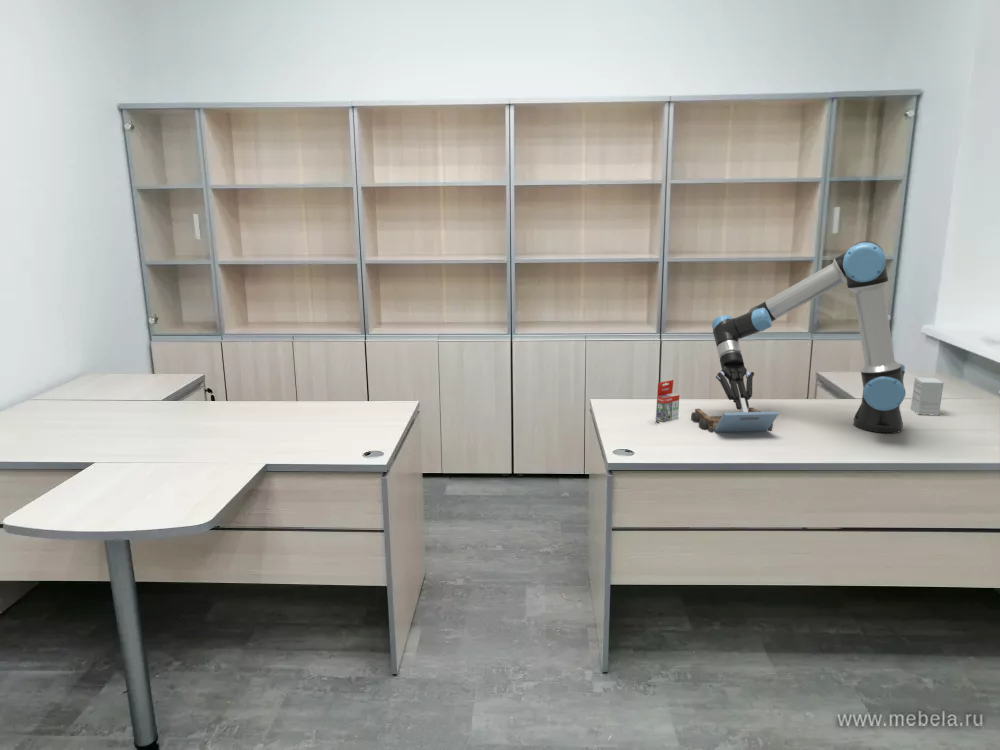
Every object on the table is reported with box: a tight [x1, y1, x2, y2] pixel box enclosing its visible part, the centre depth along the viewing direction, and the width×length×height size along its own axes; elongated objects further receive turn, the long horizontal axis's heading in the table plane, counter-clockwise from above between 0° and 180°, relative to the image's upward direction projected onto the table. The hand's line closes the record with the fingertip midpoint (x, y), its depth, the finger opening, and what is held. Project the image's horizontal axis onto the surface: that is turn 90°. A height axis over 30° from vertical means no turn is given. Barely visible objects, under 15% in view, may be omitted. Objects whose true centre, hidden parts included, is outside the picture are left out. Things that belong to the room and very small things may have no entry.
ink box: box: [655, 379, 680, 424], centre depth 251 cm, size 4×8×15 cm, turn 123°
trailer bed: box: [690, 407, 774, 433], centre depth 247 cm, size 16×24×4 cm, turn 94°
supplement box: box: [910, 377, 945, 416], centre depth 262 cm, size 7×7×13 cm
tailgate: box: [713, 410, 779, 433], centre depth 236 cm, size 1×18×12 cm
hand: (745, 417), depth 235 cm, fingers closed
